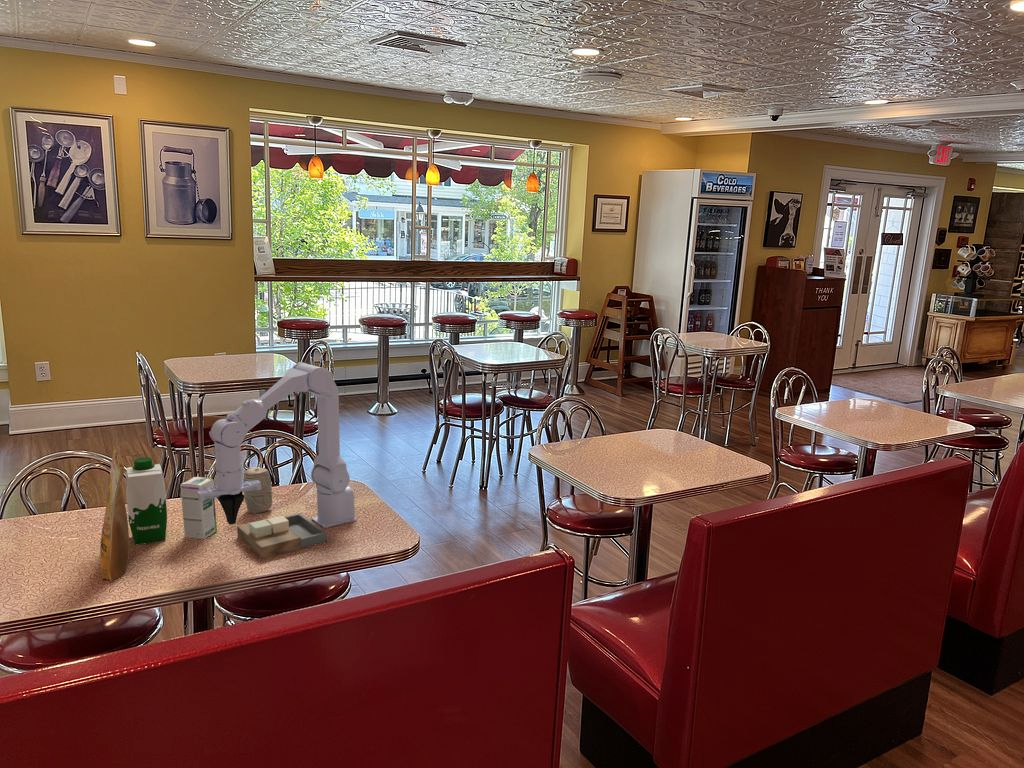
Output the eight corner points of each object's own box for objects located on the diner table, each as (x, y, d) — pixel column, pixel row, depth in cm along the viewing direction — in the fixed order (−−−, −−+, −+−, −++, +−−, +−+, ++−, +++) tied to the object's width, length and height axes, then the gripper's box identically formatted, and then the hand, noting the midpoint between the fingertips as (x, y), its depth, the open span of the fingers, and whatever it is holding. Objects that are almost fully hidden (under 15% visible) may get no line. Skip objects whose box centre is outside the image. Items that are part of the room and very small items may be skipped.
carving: (241, 510, 215) (239, 468, 212) (268, 504, 219) (266, 464, 216) (249, 517, 210) (247, 475, 207) (276, 511, 214) (274, 470, 212)
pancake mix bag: (136, 548, 189) (128, 438, 183) (132, 582, 172) (123, 462, 166) (105, 552, 186) (95, 440, 180) (98, 587, 169) (87, 465, 163)
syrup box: (204, 539, 195) (201, 485, 191) (183, 537, 196) (179, 483, 193) (217, 531, 200) (214, 478, 197) (196, 528, 201) (193, 475, 198)
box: (300, 521, 207) (300, 513, 207) (327, 541, 195) (327, 532, 195) (275, 527, 203) (275, 518, 203) (301, 548, 191) (300, 539, 191)
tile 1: (265, 528, 195) (265, 519, 194) (271, 534, 192) (271, 524, 191) (249, 532, 192) (249, 523, 192) (255, 537, 189) (255, 528, 189)
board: (275, 527, 203) (275, 517, 202) (301, 548, 191) (300, 537, 190) (237, 536, 197) (237, 525, 196) (261, 558, 185) (261, 547, 184)
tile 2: (282, 524, 198) (282, 515, 197) (288, 529, 195) (288, 520, 194) (267, 528, 195) (266, 519, 195) (273, 533, 192) (273, 524, 192)
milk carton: (167, 528, 201) (161, 455, 196) (169, 541, 193) (164, 465, 189) (129, 534, 197) (123, 459, 192) (130, 547, 189) (124, 470, 185)
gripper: (203, 479, 176) (206, 535, 179) (265, 468, 185) (267, 521, 188) (193, 471, 182) (196, 525, 185) (253, 460, 191) (256, 512, 194)
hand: (231, 522), depth 187 cm, fingers closed
